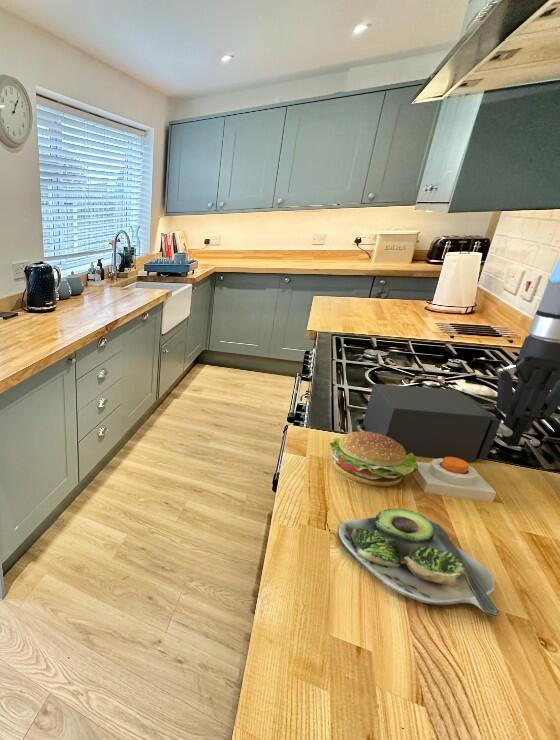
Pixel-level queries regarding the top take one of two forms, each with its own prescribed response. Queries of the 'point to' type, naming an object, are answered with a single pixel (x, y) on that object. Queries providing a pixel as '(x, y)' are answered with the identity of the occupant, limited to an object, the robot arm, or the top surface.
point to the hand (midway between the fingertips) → (508, 443)
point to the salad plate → (417, 559)
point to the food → (372, 458)
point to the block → (452, 482)
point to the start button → (455, 465)
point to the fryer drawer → (490, 432)
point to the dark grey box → (427, 420)
